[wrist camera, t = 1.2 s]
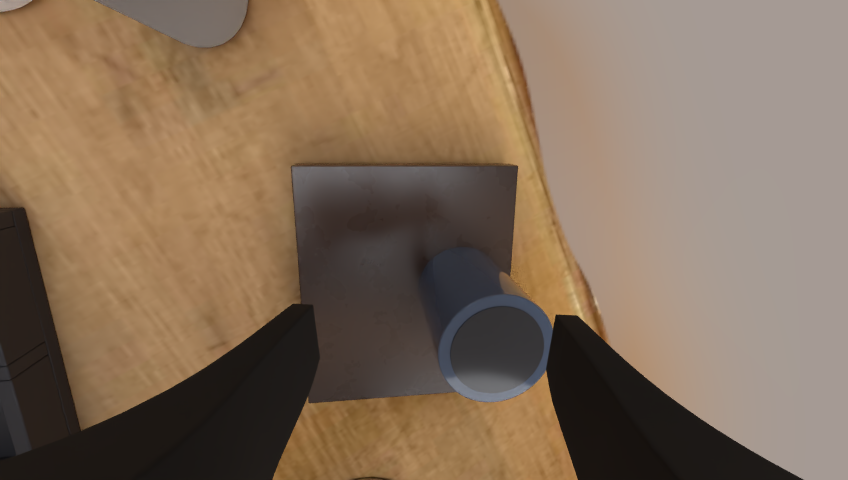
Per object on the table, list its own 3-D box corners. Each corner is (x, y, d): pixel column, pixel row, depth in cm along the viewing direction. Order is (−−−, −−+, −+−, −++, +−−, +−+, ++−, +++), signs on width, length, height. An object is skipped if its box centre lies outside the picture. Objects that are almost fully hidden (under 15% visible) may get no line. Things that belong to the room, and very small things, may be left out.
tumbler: (499, 324, 24) (549, 399, 17) (417, 329, 24) (437, 408, 17) (504, 245, 23) (561, 292, 16) (417, 247, 22) (439, 297, 16)
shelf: (493, 370, 27) (502, 388, 25) (312, 383, 26) (308, 403, 24) (506, 163, 24) (518, 165, 22) (297, 162, 22) (290, 165, 20)
